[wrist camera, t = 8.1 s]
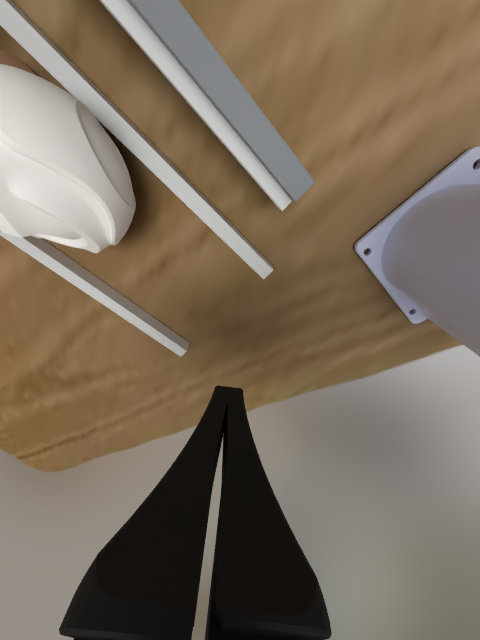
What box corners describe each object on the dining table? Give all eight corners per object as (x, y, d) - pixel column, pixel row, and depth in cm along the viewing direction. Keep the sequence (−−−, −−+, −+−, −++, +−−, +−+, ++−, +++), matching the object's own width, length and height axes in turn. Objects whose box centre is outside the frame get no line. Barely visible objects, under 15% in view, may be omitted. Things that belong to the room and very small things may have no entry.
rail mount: (319, 219, 15) (355, 234, 10) (184, 348, 22) (162, 397, 17) (-15, -199, 8) (-468, -859, 3) (-62, 179, 15) (-227, 172, 10)
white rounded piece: (47, 222, 16) (-97, 244, 9) (20, 82, 12) (-257, -47, 6) (154, 251, 17) (89, 291, 10) (160, 128, 13) (62, 61, 6)
